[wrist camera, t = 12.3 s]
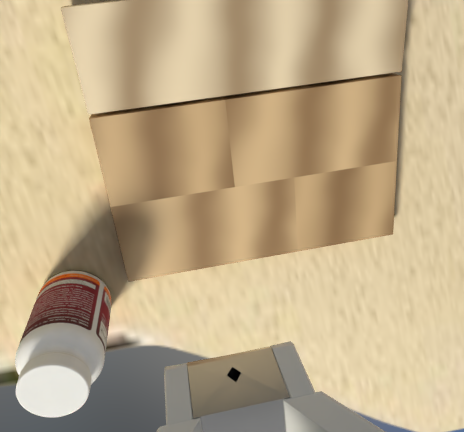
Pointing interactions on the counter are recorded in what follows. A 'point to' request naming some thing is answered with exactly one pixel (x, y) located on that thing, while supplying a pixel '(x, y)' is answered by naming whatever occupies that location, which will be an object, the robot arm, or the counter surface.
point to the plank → (226, 46)
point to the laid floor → (250, 173)
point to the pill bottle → (63, 344)
